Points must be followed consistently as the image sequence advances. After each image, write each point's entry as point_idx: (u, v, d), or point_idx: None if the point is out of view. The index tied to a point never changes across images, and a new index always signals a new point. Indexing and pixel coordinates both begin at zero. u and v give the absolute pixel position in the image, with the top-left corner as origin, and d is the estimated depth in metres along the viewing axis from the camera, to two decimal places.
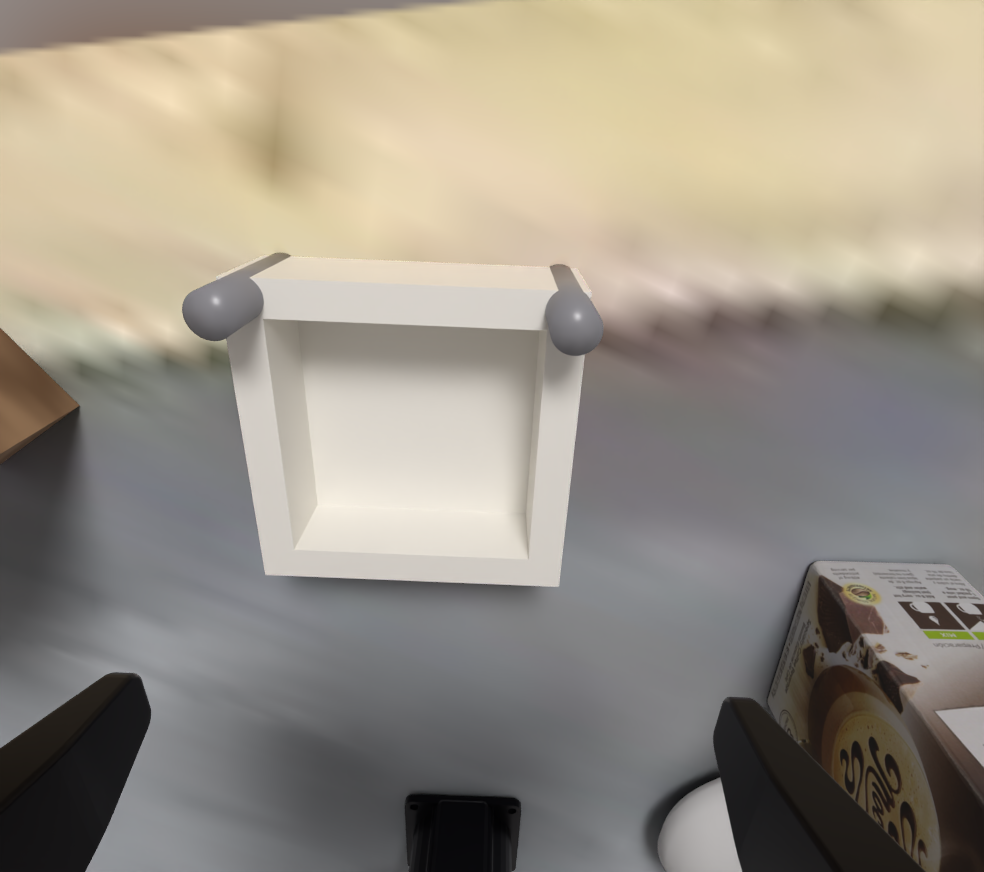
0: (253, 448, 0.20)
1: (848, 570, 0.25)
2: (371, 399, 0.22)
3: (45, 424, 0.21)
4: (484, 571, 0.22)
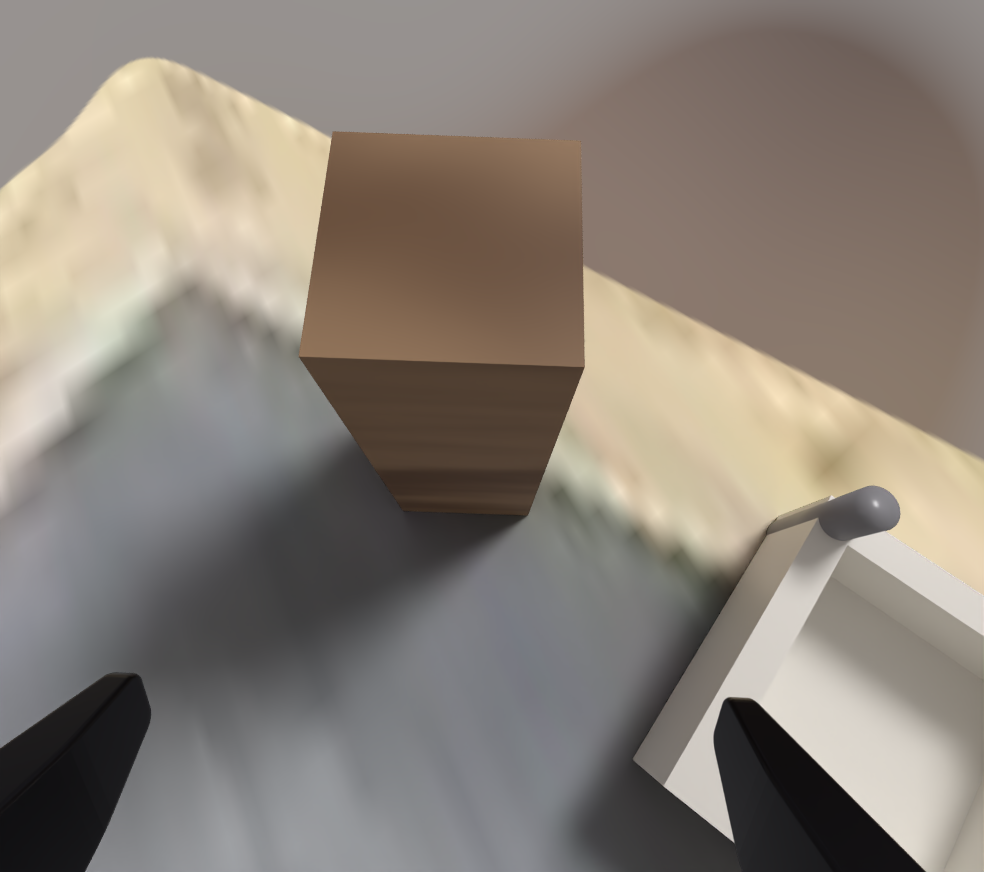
0: (760, 639, 0.19)
1: None
2: (814, 682, 0.21)
3: (531, 504, 0.22)
4: None
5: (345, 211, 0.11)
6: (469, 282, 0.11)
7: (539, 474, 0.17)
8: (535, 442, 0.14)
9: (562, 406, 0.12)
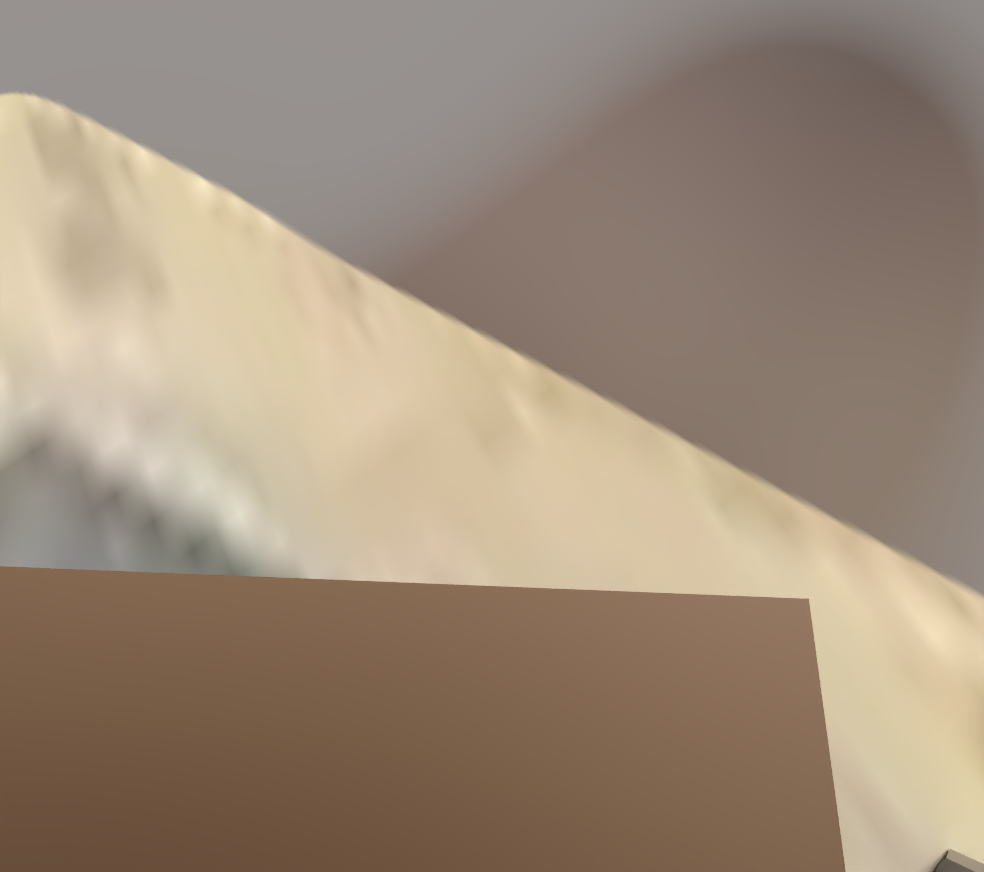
0: None
1: None
2: None
3: None
4: None
5: None
6: None
7: None
8: None
9: None
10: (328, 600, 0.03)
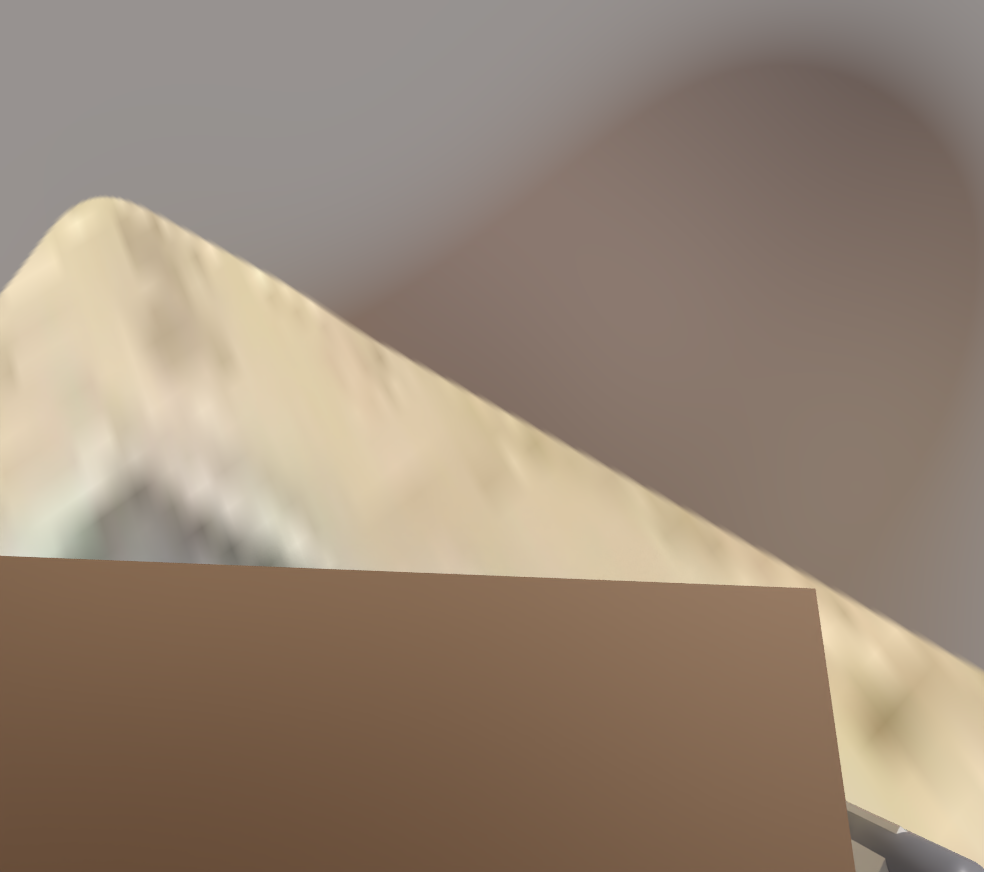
0: None
1: None
2: None
3: None
4: None
5: None
6: None
7: None
8: None
9: None
10: (368, 590, 0.03)
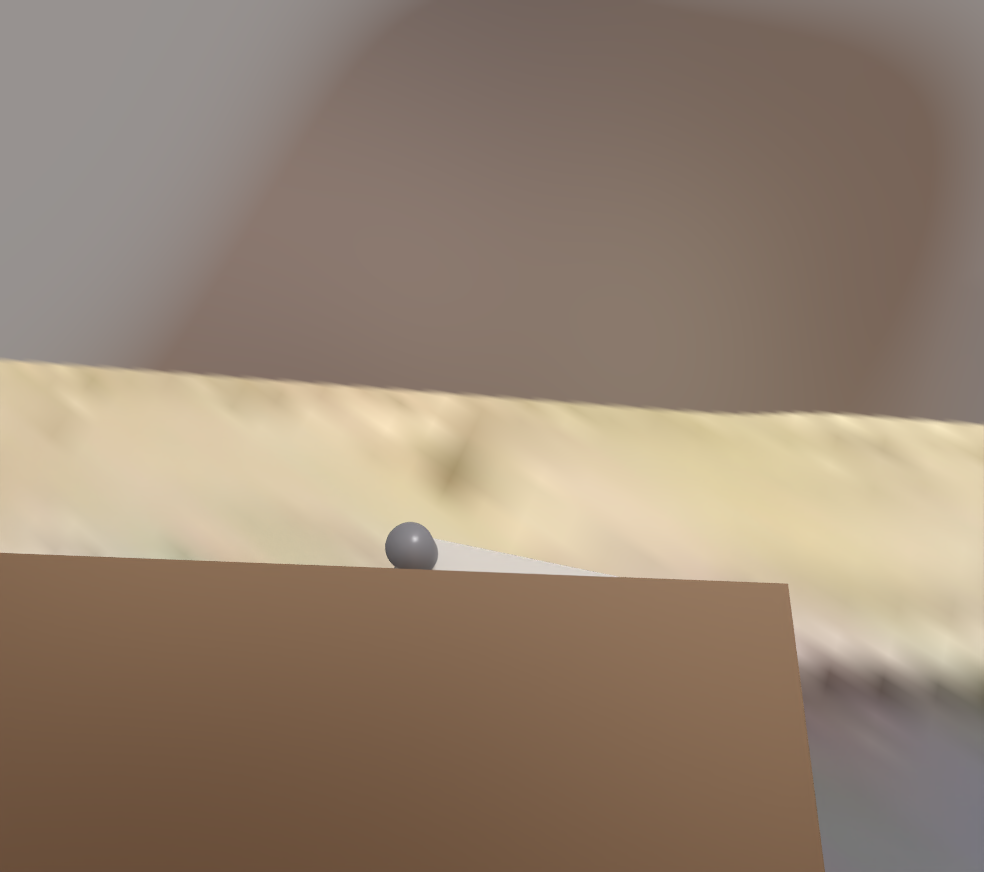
0: None
1: None
2: None
3: None
4: None
5: None
6: None
7: None
8: None
9: None
10: (371, 585, 0.03)
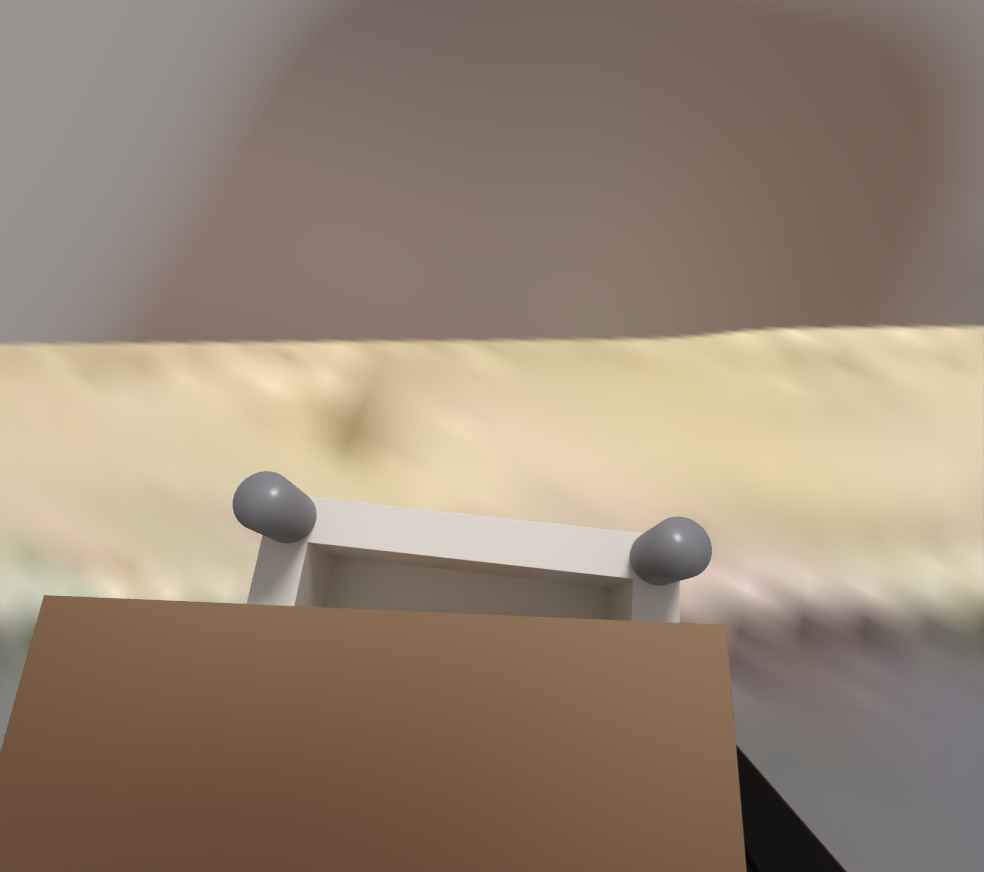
0: None
1: None
2: None
3: None
4: None
5: None
6: None
7: None
8: None
9: None
10: (401, 625, 0.04)
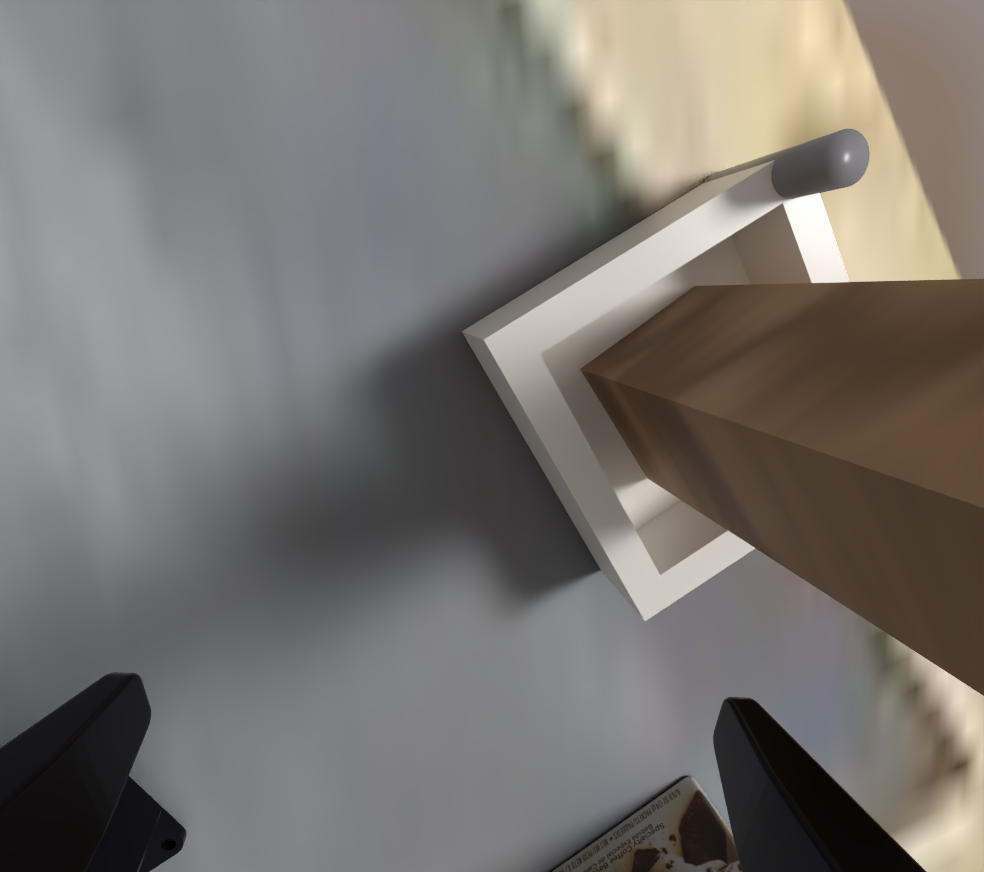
0: (646, 251, 0.17)
1: (710, 801, 0.26)
2: None
3: (673, 493, 0.20)
4: (624, 548, 0.19)
5: None
6: None
7: (758, 547, 0.16)
8: (842, 593, 0.13)
9: (959, 675, 0.10)
10: None
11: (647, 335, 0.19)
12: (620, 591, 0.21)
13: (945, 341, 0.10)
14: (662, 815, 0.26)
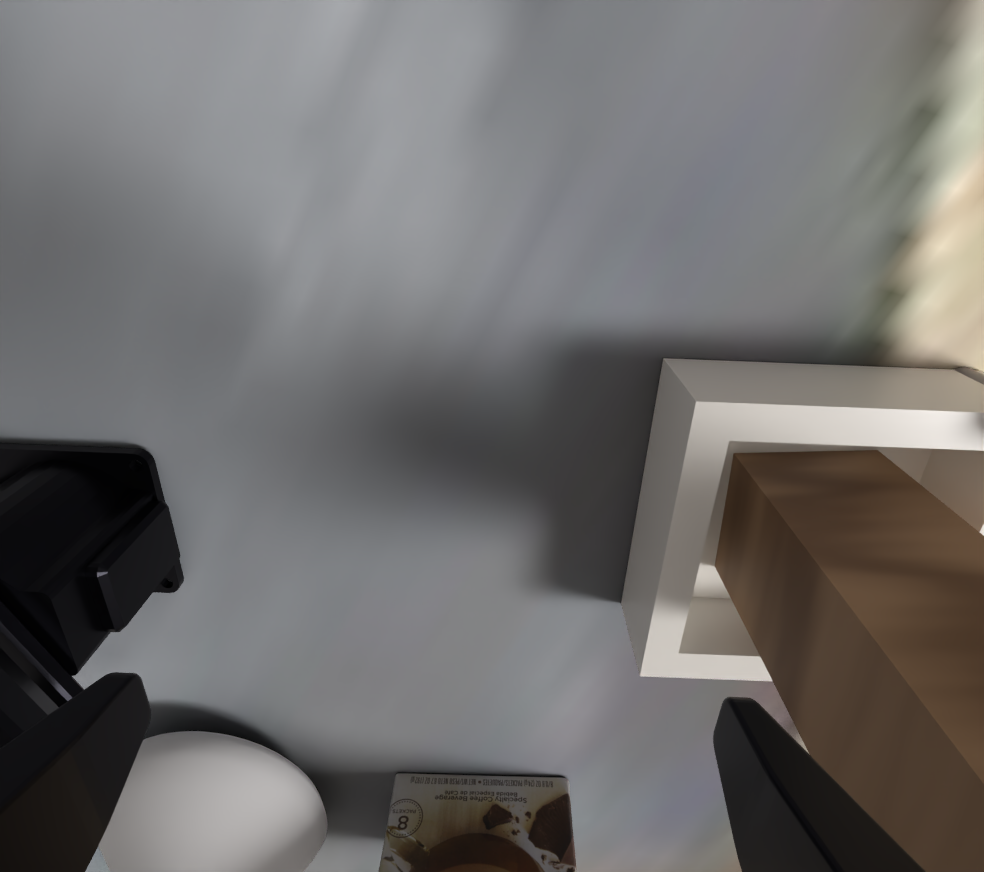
0: (879, 418, 0.17)
1: None
2: None
3: (732, 598, 0.21)
4: (668, 618, 0.20)
5: None
6: None
7: (787, 706, 0.17)
8: None
9: None
10: None
11: (813, 470, 0.20)
12: (631, 636, 0.23)
13: None
14: (529, 793, 0.29)
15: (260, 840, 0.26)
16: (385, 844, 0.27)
